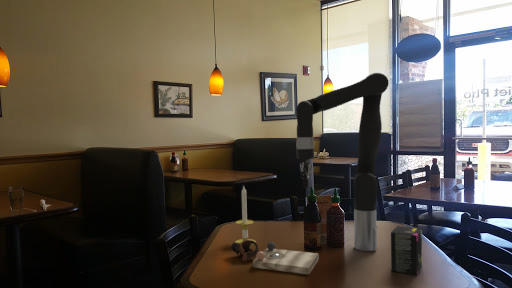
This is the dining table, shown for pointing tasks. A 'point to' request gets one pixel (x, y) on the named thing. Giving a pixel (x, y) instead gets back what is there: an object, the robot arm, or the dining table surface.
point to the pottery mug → (245, 249)
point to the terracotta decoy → (260, 255)
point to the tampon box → (406, 250)
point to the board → (288, 261)
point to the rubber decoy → (271, 246)
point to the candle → (244, 219)
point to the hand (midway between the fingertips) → (305, 187)
